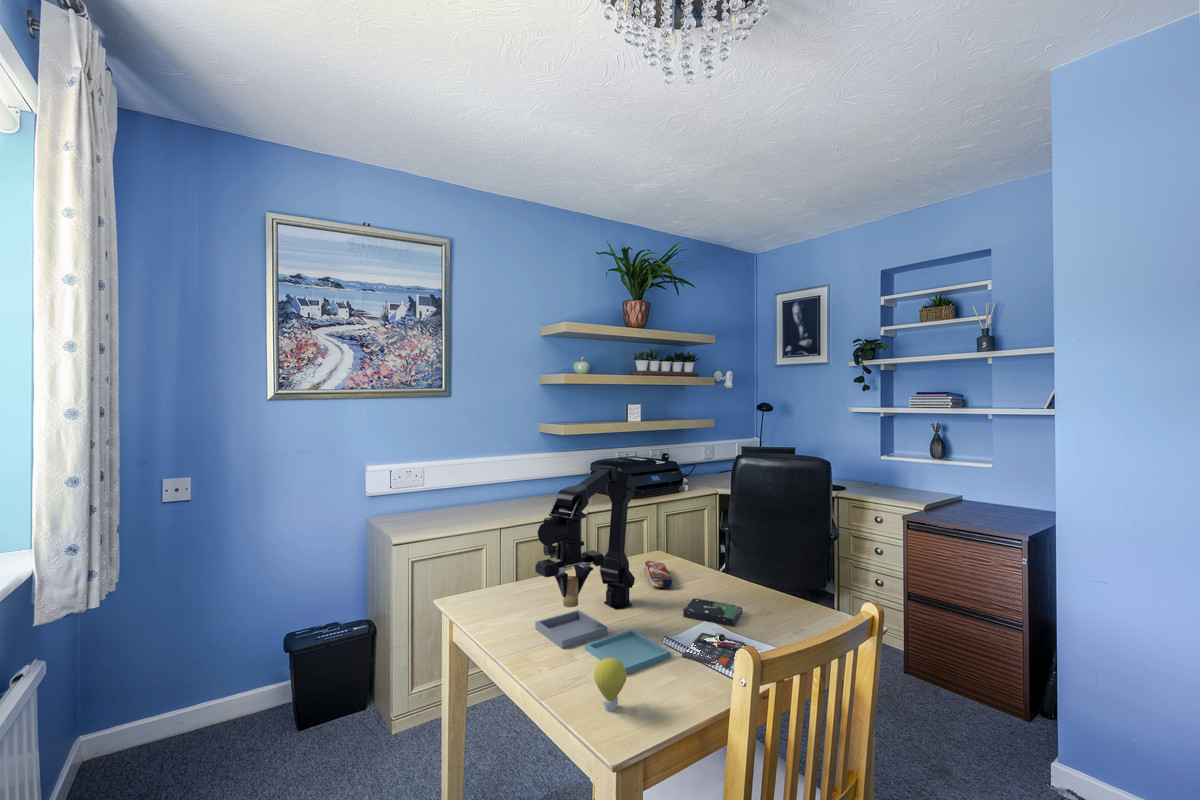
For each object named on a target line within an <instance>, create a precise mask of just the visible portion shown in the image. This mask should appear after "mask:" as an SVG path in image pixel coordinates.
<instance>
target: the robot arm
mask: <svg viewBox="0 0 1200 800" xmlns="http://www.w3.org/2000/svg"><path fill="white" fill-rule="evenodd" d="M636 485H637V482H636V479H635V478H634V476H633V475H632V474H627V473H625V472H623V471H621V470H619V469H618V468H616V467H614V466H605V465H602V466H600V467H599V468H598V469H597V471H595V472H594V473H592V474H591V475H590V476H588V477H586V478H585V479H584V480H582V481H581V482H579V483H578V484H575V485H571V486H567V487H564V488H562V489H560V490H559V491H558V492H557V494H556V497H555V499H554V501H553V503H552V506H551V509H550V511H549V513H548V516H549V517H543V522H542V523H541V524H540V525H539V527H538V530H537V537H538V540H539V541H540V543H541V544H543V555H544V557H547V556H549V558H550V559H549V558H547V559H542V560H538V561H537V562H536V564H535V573H537V574H538V575H541V576H543V577H544V578H551V577H554V578H555V580H556V583H557V585H558V588H559V590H560V594H561V596H562V598H563V597H566V592H567V581H568V576H569V574H568V573H566V572H565V571H566V569H567V568H571V567H573V568H574V571H575V576H576V577H578V595H579V594H580V592H581V591H582V588H583V586H584V584H585V583H586V580H587V578H588V577H589V575H590V573H591V572H592V571H593V570H594V567H592V566H591V563H592V564H593V565H594V566H595V567H599V570H598V571H599V573H600V579H601V581H602V584H604V585H606V586H607V587H606V591H605V600H604V601H603V604H605V605H606V606H609V608H612V609H614V610H621V609H624V608H628V607H632V606H633V605H634V603H632V602H631V601H630V589H632V588H633V586H634V585H635V579H636V577H635V576H634V575H633V573H632V572H631V571H630V562H629V560H628V556H627V555H626V553H625V548H626V538H627V537H626V534H627V523H628V521H627V520H628V510H629V509H628V507H629V503H630V502H631V500H632V499H633V497H634V496H635V491H636V490H635V489H636ZM605 487H606V490H607V492H606V493H607V495H608V498H609V500H610V502H611V511H610V519H609V521H610V524H609V534H608V535H609V536H608V547H607V549H608V550H607V552H606V553H605V555H604V554H603V553H601V552H598V551H597V550H594V549H592V550H588V551H584V552H582V547H583V546H585V541H583V540H582V519H585V518H586V517H587V515H586V514H585V513H584V512H583V510H585V509H586V508H587V506H588V505H589V501H590V499H591V498H592V497H593V496H594V495H596V494H597V493H598V492H599V491H601V490H602V489H603V488H605ZM554 544H556V545H554ZM554 558H555V560H559V561H554V560H552V559H554Z"/></svg>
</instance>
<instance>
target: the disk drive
mask: <svg viewBox="0 0 1200 800" xmlns="http://www.w3.org/2000/svg"><path fill="white" fill-rule="evenodd" d="M742 615H743V608H742V606H739V605H735V604H731V603H730V604H729V603H723V602H717V601H712V600H707V599H703V598H702V599H701V598H692V600H690V601H689V603H688V604H687V606H685V607H683V612H682V616H683V618H687V619H689V620H690V619H691V620H696V621H701V622H706V623H711V624H717V625H721V626H727V627H731V628H735V626H736V625H737V623H738V621H740V619H741V617H742Z"/></svg>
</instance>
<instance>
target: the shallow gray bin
mask: <svg viewBox="0 0 1200 800" xmlns="http://www.w3.org/2000/svg"><path fill="white" fill-rule="evenodd" d="M535 630H536V631H537V632H539V633H540V634H541V635H542V636H544V637H545V638H547V640H549V641H551V642H552V643H553V644H555V645H556V646H558V648H560V649H562V650H564V649H567V648H569V647H574V646H576V645H580V644H583V643H585V642H589V641H592V640H595V639H599V638H601V637H604V636H608V626H607V625H605V624H603V623H601V622H600V621H598V620H596V619H595V618H593V617H591V616H590V615H588V614H586V613H585V612H583V611H582V610H580V609H577V610H572V611H569V612H566V613H561V614H559V615H554V616H552V617H547V618H544V619H540V620H536V621H535Z"/></svg>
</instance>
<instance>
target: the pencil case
mask: <svg viewBox="0 0 1200 800" xmlns="http://www.w3.org/2000/svg"><path fill="white" fill-rule="evenodd" d="M644 564H645V565H644V567H643V569H644V572H645V573H646V576H647V577H648V580H649V583H650V585H651V586H652V587H654V588H656V589H663V588H664V589H665V588H669V587H672V586H673V585H674V583H673V579H672V576H671V574H670V572H669V570H668V569H667V566H666V564H664V563H663V562H659V561H658V562H657V561H653V560H647V561H645V562H644Z"/></svg>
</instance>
